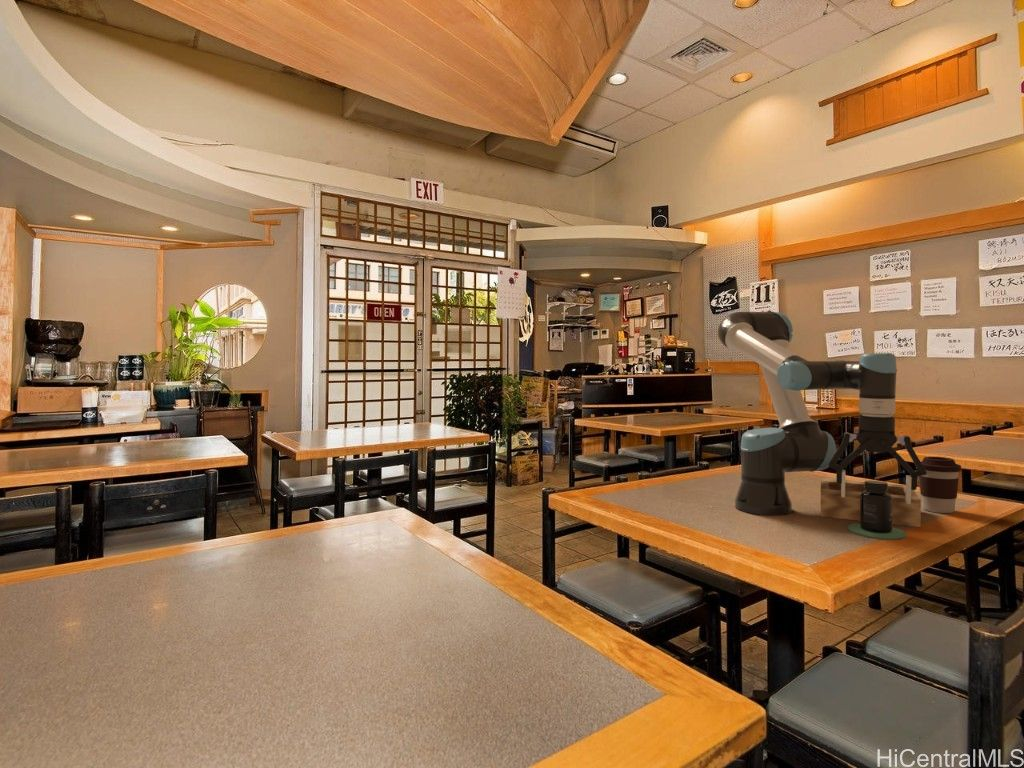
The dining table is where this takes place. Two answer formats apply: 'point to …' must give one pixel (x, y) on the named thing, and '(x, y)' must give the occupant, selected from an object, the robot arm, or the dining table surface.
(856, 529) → the mat
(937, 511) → the coffee cup
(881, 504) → the supplement bottle
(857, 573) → the dining table surface
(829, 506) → the cover box
